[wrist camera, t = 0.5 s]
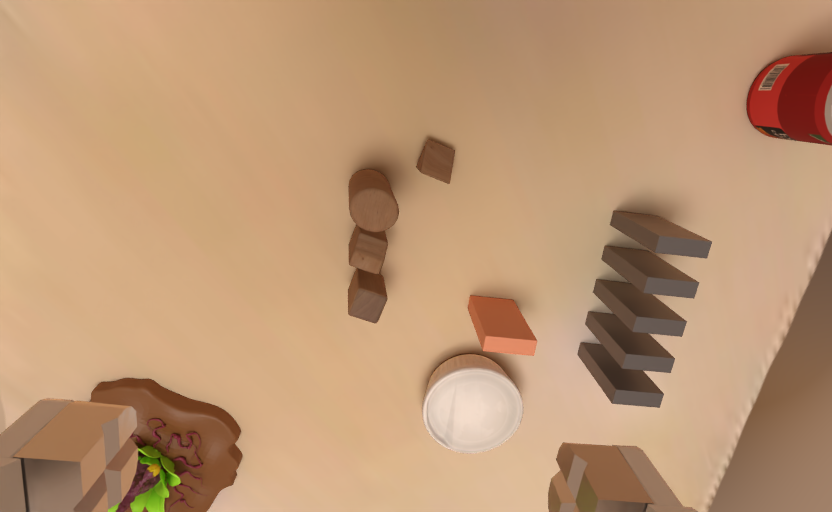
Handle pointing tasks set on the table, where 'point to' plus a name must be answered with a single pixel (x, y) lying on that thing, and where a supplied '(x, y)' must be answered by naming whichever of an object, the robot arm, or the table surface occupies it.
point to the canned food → (794, 99)
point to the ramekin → (471, 405)
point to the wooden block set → (380, 228)
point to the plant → (174, 447)
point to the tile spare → (501, 326)
